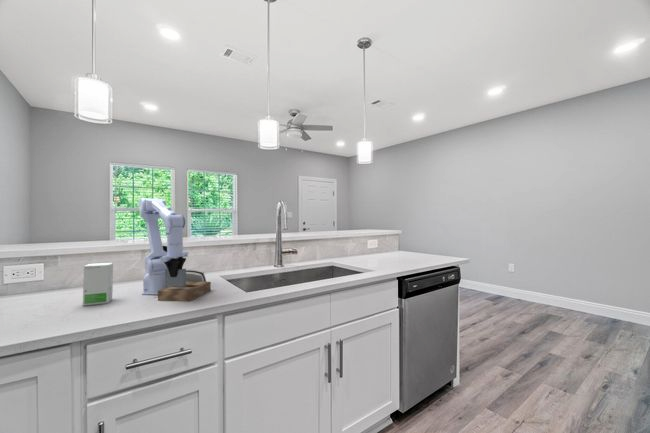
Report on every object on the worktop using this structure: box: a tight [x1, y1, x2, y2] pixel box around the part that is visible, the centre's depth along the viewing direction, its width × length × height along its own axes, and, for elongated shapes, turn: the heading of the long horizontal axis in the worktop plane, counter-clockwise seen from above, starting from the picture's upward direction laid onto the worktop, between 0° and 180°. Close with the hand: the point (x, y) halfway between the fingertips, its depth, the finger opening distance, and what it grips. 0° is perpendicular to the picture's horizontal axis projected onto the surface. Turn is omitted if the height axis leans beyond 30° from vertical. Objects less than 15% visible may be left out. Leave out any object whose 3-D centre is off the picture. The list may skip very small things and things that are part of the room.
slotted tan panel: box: [157, 281, 212, 302], centre depth 118 cm, size 14×16×4 cm
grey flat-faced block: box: [165, 268, 187, 287], centre depth 112 cm, size 8×2×7 cm, turn 84°
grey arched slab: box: [186, 269, 208, 282], centre depth 131 cm, size 17×5×10 cm, turn 95°
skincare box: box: [82, 262, 114, 307], centre depth 109 cm, size 8×7×16 cm
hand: (175, 276), depth 112 cm, fingers closed on grey flat-faced block, 2 cm apart
